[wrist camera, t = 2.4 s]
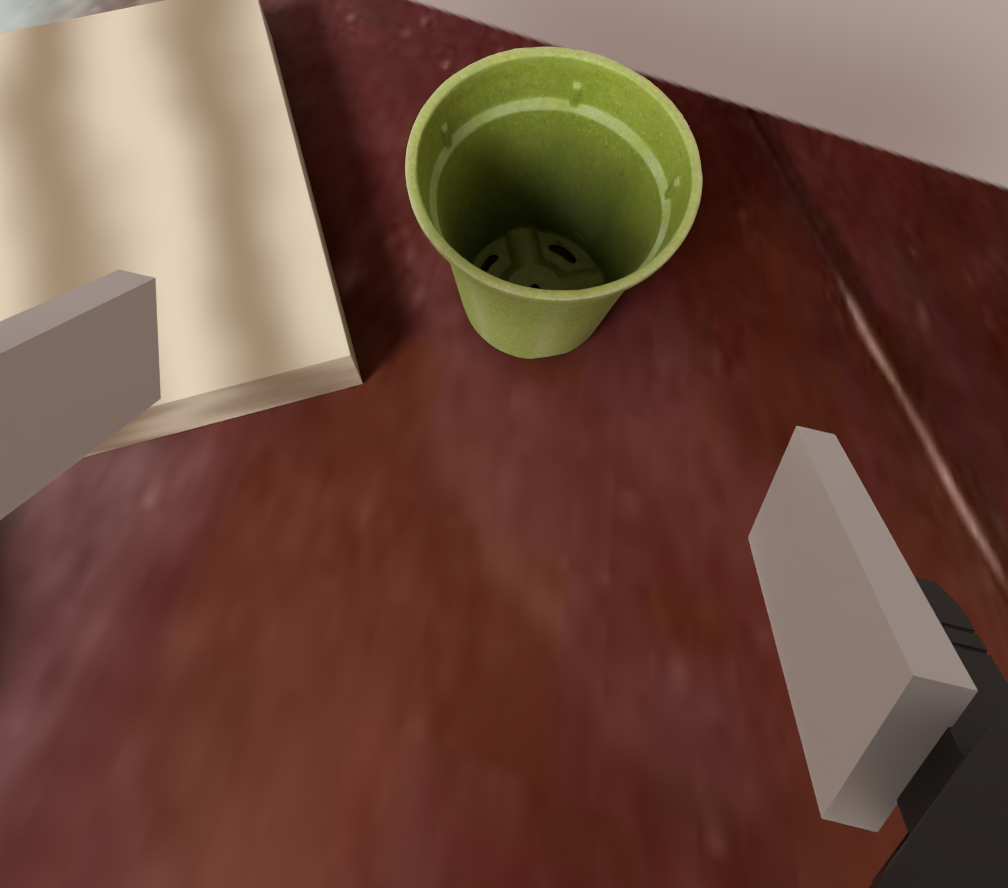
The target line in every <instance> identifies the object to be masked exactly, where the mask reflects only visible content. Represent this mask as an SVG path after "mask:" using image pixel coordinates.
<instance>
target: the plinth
mask: <svg viewBox="0 0 1008 888" xmlns="http://www.w3.org/2000/svg"><path fill="white" fill-rule="evenodd" d="M117 270H124V271H128V272H132V273H137V274H141V275H145V276H150V277H154V278H156V301H157V324H158V346H159V369H160V391H161V399H160V400H158V401H157V402H156V403H155V404H153V405H152V406H151V407H149V408H148V409H147V410H145V411H144V412H143V413H141V414H140V415H139V416H137V417H136V418H135V419H133V420H132V421H131V422H129V423H128V424H127V425H125V426H124V427H123V428H121V429H120V430H119V431H118V432H116V433H115V434H114V435H112V436H111V437H110V438H108V439H107V440H106V441H104V442H103V443H102V444H100V445H99V446H98V447H96V448H95V449H94V450H92V451H91V452H90V453H88V454H87V455H86V456H84V457H87V456H90V455H94V454H98V453H102V452H106V451H109V450H113V449H117V448H121V447H125V446H128V445H132V444H136V443H140V442H144V441H147V440H151V439H155V438H159V437H163V436H166V435H170V434H174V433H178V432H182V431H185V430H189V429H193V428H197V427H201V426H204V425H208V424H212V423H216V422H220V421H223V420H227V419H231V418H235V417H239V416H242V415H246V414H250V413H254V412H258V411H261V410H265V409H269V408H273V407H277V406H280V405H284V404H288V403H292V402H296V401H299V400H303V399H307V398H311V397H315V396H318V395H322V394H326V393H330V392H334V391H337V390H341V389H345V388H349V387H353V386H356V385H360V384H363V383H362V379H361V375H360V371H359V367H358V364H357V360H356V356H355V352H354V348H353V345H352V341H351V337H350V333H349V329H348V326H347V322H346V318H345V314H344V310H343V306H342V303H341V299H340V295H339V291H338V287H337V284H336V280H335V276H334V272H333V268H332V264H331V261H330V257H329V253H328V249H327V245H326V242H325V238H324V234H323V230H322V226H321V222H320V219H319V215H318V211H317V207H316V203H315V200H314V196H313V192H312V188H311V184H310V181H309V177H308V173H307V169H306V165H305V161H304V158H303V154H302V150H301V146H300V142H299V139H298V135H297V131H296V127H295V123H294V119H293V116H292V112H291V108H290V104H289V100H288V97H287V93H286V89H285V85H284V81H283V78H282V74H281V70H280V66H279V62H278V58H277V55H276V51H275V47H274V43H273V39H272V36H271V33H270V30H269V27H268V24H267V21H266V18H265V15H264V12H263V9H262V6H261V3H260V1H259V0H165V1H160V2H155V3H150V4H145V5H140V6H135V7H130V8H125V9H120V10H115V11H110V12H105V13H100V14H95V15H90V16H85V17H80V18H75V19H70V20H65V21H60V22H55V23H50V24H45V25H40V26H35V27H30V28H25V29H20V30H15V31H10V32H5V33H0V321H2V320H4V319H7V318H9V317H11V316H14V315H16V314H18V313H20V312H23V311H25V310H27V309H30V308H32V307H34V306H37V305H39V304H41V303H43V302H46V301H48V300H50V299H53V298H55V297H57V296H59V295H62V294H64V293H66V292H69V291H71V290H73V289H76V288H78V287H80V286H82V285H85V284H87V283H89V282H92V281H94V280H96V279H98V278H101V277H103V276H105V275H108V274H110V273H112V272H115V271H117Z"/></svg>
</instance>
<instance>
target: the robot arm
mask: <svg viewBox="0 0 1008 888" xmlns="http://www.w3.org/2000/svg"><path fill="white" fill-rule="evenodd" d="M160 399H161V391H160V369H159V346H158V324H157V301H156V278H154V277H150V276H145V275H141V274H137V273H132V272H128V271H124V270H117V271H115V272H112V273H110V274H108V275H105V276H103V277H101V278H98V279H96V280H94V281H92V282H89V283H87V284H85V285H82V286H80V287H78V288H76V289H73V290H71V291H69V292H66V293H64V294H62V295H59V296H57V297H55V298H53V299H50V300H48V301H46V302H43V303H41V304H39V305H37V306H34V307H32V308H30V309H27V310H25V311H23V312H20V313H18V314H16V315H14V316H11V317H9V318H7V319H4V320H2V321H0V520H1V519H3V518H4V517H5V516H6V515H8V514H9V513H10V512H12V511H13V510H14V509H16V508H17V507H18V506H20V505H21V504H22V503H24V502H25V501H26V500H28V499H29V498H30V497H32V496H33V495H34V494H36V493H37V492H38V491H40V490H41V489H42V488H43V487H45V486H46V485H47V484H49V483H50V482H51V481H53V480H54V479H55V478H57V477H58V476H59V475H61V474H62V473H63V472H65V471H66V470H67V469H69V468H70V467H71V466H73V465H74V464H75V463H77V462H78V461H79V460H81V459H82V458H83V457H84V456H86V455H87V454H88V453H90V452H91V451H92V450H94V449H95V448H96V447H98V446H99V445H100V444H102V443H103V442H104V441H106V440H107V439H108V438H110V437H111V436H112V435H114V434H115V433H116V432H118V431H119V430H120V429H121V428H123V427H124V426H125V425H127V424H128V423H129V422H131V421H132V420H133V419H135V418H136V417H137V416H139V415H140V414H141V413H143V412H144V411H145V410H147V409H148V408H149V407H151V406H152V405H153V404H155V403H156V402H157V401H158V400H160ZM748 539H749V543H750V547H751V550H752V554H753V558H754V562H755V566H756V570H757V573H758V577H759V581H760V585H761V589H762V593H763V596H764V600H765V604H766V608H767V612H768V615H769V619H770V623H771V627H772V631H773V635H774V638H775V642H776V646H777V650H778V654H779V658H780V661H781V665H782V669H783V673H784V677H785V680H786V684H787V688H788V692H789V696H790V700H791V703H792V707H793V711H794V715H795V719H796V723H797V726H798V730H799V734H800V738H801V742H802V745H803V749H804V753H805V757H806V761H807V765H808V768H809V772H810V776H811V780H812V784H813V788H814V791H815V795H816V799H817V803H818V807H819V810H820V814H821V818H822V819H826V820H830V821H834V822H838V823H842V824H846V825H850V826H854V827H858V828H862V829H866V830H870V831H874V832H878V831H879V829H880V828H881V826H882V825H883V824H884V822H885V821H886V819H887V818H888V817H889V815H890V814H891V812H892V811H893V810H894V808H895V807H896V805H897V804H898V806H899V808H900V811H901V814H902V816H903V819H904V822H905V825H906V827H907V830H908V833H907V835H906V836H905V837H904V839H903V840H902V841H901V843H900V844H899V845H898V847H897V848H896V849H895V851H894V852H893V854H892V855H891V856H890V858H889V859H888V860H887V862H886V863H885V864H884V866H883V867H882V868H881V870H880V871H879V872H878V874H877V875H876V876H875V878H874V879H873V880H872V881H873V882H872V884H871V885H870V887H869V888H1008V684H1007V682H1006V680H1005V679H1004V677H1003V676H1002V674H1001V672H1000V671H999V669H998V667H997V666H996V664H995V662H994V661H993V659H992V657H991V656H990V655H987V654H986V652H987V649H986V648H985V646H984V644H983V643H982V641H981V639H980V638H979V636H978V635H975V634H974V631H975V630H974V628H973V626H972V625H971V623H970V621H969V620H968V618H967V617H966V615H965V613H964V612H963V610H962V608H961V607H960V605H958V604H957V603H956V602H955V601H954V600H953V599H952V598H951V597H950V596H949V595H948V594H947V593H946V592H945V591H944V590H943V589H941V588H940V587H939V586H938V585H937V584H936V583H935V582H933V581H929V580H925V579H920V578H916V577H914V575H913V574H912V572H911V570H910V568H909V566H908V565H907V563H906V561H905V559H904V557H903V556H902V554H901V552H900V550H899V548H898V547H897V545H896V543H895V541H894V539H893V538H892V536H891V534H890V532H889V531H888V529H887V527H886V525H885V523H884V522H883V520H882V518H881V516H880V514H879V513H878V511H877V509H876V507H875V505H874V504H873V502H872V500H871V498H870V496H869V495H868V493H867V491H866V489H865V487H864V486H863V484H862V482H861V480H860V479H859V477H858V475H857V473H856V471H855V470H854V468H853V466H852V464H851V462H850V461H849V459H848V457H847V455H846V453H845V452H844V450H843V448H842V446H841V444H840V443H839V441H838V439H837V437H836V436H835V435H834V434H830V433H826V432H821V431H817V430H813V429H808V428H804V427H800V426H796V428H795V430H794V433H793V435H792V437H791V439H790V442H789V444H788V446H787V449H786V451H785V453H784V456H783V458H782V460H781V463H780V465H779V467H778V469H777V472H776V474H775V476H774V479H773V481H772V483H771V486H770V488H769V490H768V493H767V495H766V497H765V500H764V502H763V504H762V506H761V509H760V511H759V513H758V516H757V518H756V520H755V523H754V525H753V527H752V530H751V532H750V534H749V536H748Z"/></svg>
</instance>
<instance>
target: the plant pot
mask: <svg viewBox="0 0 1008 888" xmlns="http://www.w3.org/2000/svg"><path fill="white" fill-rule="evenodd" d="M405 173H406V182H407V189H408V194H409V198H410V202H411V205H412V208H413V211H414V214H415V216H416V218H417V221H418V223H419V225H420V227H421V229H422V230H423V232H424V234H425V235H426V237H427V238H428V239H429V241H430V242H431V244H432V245H433V246H434V247H435V248H436V250H437V251H438V252H439V253H440V254H441V255H442V256H443V257H444V258H445V259H446V260H447V261H448V262H449V263H450V264H451V267H452V271H453V274H454V277H455V280H456V283H457V287H458V290H459V293H460V297H461V300H462V303H463V306H464V309H465V311H466V314H467V316H468V318H469V320H470V322H471V324H472V325H473V327H474V329H475V330H476V331H477V332H478V333H479V334H480V336H481V337H482V338H484V339H485V340H486V341H487V342H488V343H489V344H491V345H492V346H493V347H495V348H497V349H498V350H500V351H502V352H505V353H507V354H510V355H513V356H516V357H521V358H528V359H534V358H541V357H549V356H554V355H559V354H563V353H567V352H569V351H571V350H573V349H575V348H577V347H578V346H579V345H581V344H582V343H583V342H585V341H586V340H587V339H588V338H589V337H590V336H591V335H592V333H593V332H594V331H595V329H596V328H597V327H598V325H599V324H600V323H601V321H602V320H603V319H604V317H605V316H606V314H607V313H608V312H609V310H610V309H611V307H612V306H613V305H614V303H615V302H616V301H617V300H618V298H619V297H620V296H621V294H622V293H623V292H624V291H625V290H627V289H629V288H631V287H633V286H635V285H637V284H639V283H640V282H642V281H644V280H645V279H647V278H648V277H650V276H651V275H652V274H653V273H655V272H656V271H657V270H659V269H660V268H661V267H662V266H663V265H664V264H665V263H666V262H667V261H668V260H669V259H670V258H671V257H672V255H673V254H674V253H675V252H676V251H677V249H678V248H679V247H680V245H681V244H682V242H683V241H684V239H685V238H686V236H687V234H688V232H689V231H690V229H691V227H692V225H693V222H694V220H695V217H696V214H697V211H698V208H699V204H700V199H701V193H702V183H703V177H702V170H701V161H700V156H699V151H698V147H697V144H696V141H695V138H694V136H693V134H692V132H691V130H690V128H689V126H688V124H687V122H686V121H685V119H684V117H683V115H682V114H681V113H680V111H679V110H678V109H677V108H676V106H675V105H674V104H673V102H672V101H671V100H670V99H669V98H668V97H667V96H666V95H665V94H664V93H663V92H662V91H661V90H660V89H659V88H657V87H656V86H655V85H654V84H653V83H652V82H650V81H649V80H647V79H646V78H645V77H643V76H641V75H639V74H638V73H636V72H635V71H633V70H631V69H630V68H628V67H626V66H624V65H622V64H620V63H618V62H616V61H614V60H612V59H609V58H606V57H604V56H601V55H597V54H594V53H590V52H586V51H582V50H574V49H569V48H558V47H534V48H518V49H513V50H510V51H505V52H500V53H497V54H494V55H491V56H488V57H486V58H483V59H481V60H479V61H477V62H475V63H473V64H471V65H469V66H467V67H465V68H464V69H462V70H461V71H459V72H457V73H456V74H454V75H453V76H451V77H450V78H449V79H447V80H446V81H445V82H444V83H443V84H442V85H441V86H440V87H439V88H438V89H437V90H436V91H435V92H434V93H433V95H432V96H431V97H430V98H429V100H428V101H427V102H426V104H425V105H424V106H423V108H422V109H421V111H420V113H419V115H418V117H417V118H416V121H415V123H414V125H413V128H412V131H411V134H410V137H409V141H408V145H407V151H406V161H405ZM549 245H557V246H560V247H562V248H564V249H565V250H567V251H568V252H570V253H571V254H572V255H573V256H574V257H575V258H576V262H575V263H570V262H569V261H568V260H566V259H565V258H564V257H562V256H561V255H559V254H558V253H555V252H552V251H551V250H549V248H548V246H549ZM493 255H497V256H498V259H497V260H496V261H495V262H494V263H493V265H491V266H490V267H489V269H488V271H486V272H484V271H482V270H481V269H480V268H481V267H482V265H483V264H484V262H485V260H486V259H487V258H489V257H490V256H493ZM533 284H536V285H538V286H539V287H540V289H536V288H531V287H530V286H532V285H533Z"/></svg>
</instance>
